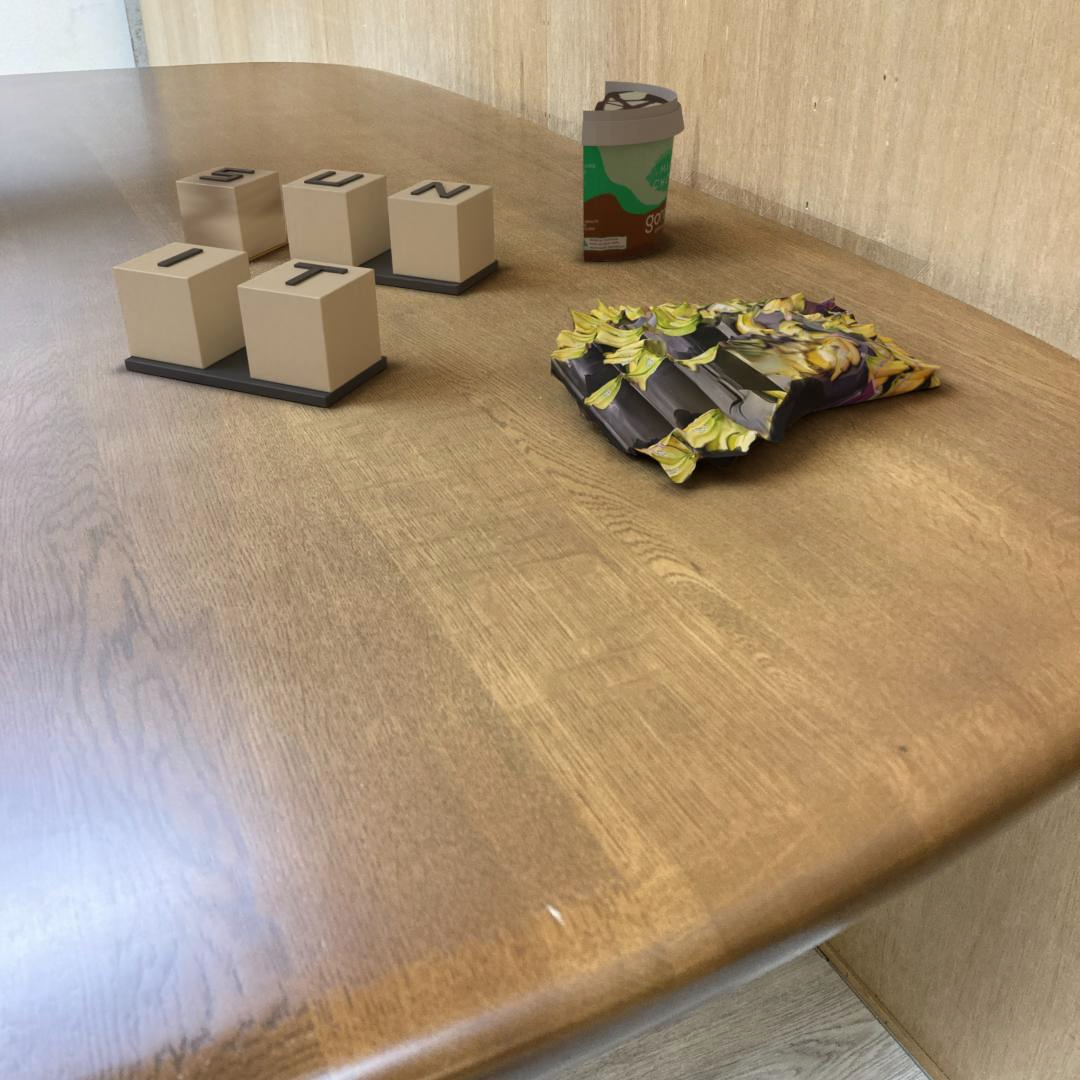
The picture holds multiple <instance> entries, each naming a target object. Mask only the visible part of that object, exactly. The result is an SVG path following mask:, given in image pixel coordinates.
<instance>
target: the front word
mask: <svg viewBox="0 0 1080 1080" xmlns="http://www.w3.org/2000/svg"><path fill="white" fill-rule="evenodd" d="M249 262H250V261H248V254H247V252H244V251H237V250H230V249H223V248H215V247H208V246H201V245H193V244H186V242H179V241H178V242H177V241H173V242H171V243H168V244H166V245H163V246H161V247H159V248H156V249H154V250H150V251H148V252H146V253H143V254H141V255H139V256H135V257H133V258H132V259H129V260H126V261H124V262H122V263H121V262H120V263H118V264H116V265H114V266H113V267H112V273H113V275H114V276H113V277H114V282H115V287H116V291H117V297H118V301H119V306H120V311H121V317H122V321H123V327H124V330H125V335H126V340H127V346H128V350H129V354H130V356H129V357H127V358H125V359H124V366H125V370H127V371H132V372H138V373H142V374H148V375H154V376H159V377H164V378H168V379H174V380H180V381H184V382H190V383H194V384H195V383H196V384H201V385H206V386H211V387H216V388H223V389H228V390H232V391H237V392H242V393H249V394H254V395H259V396H265V397H268V398H275V399H279V400H285V401H289V402H296V403H300V404H307V405H312V406H317V407H320V408H328V407H330V406H331V405H333V404H335V403H336V402H338V401H339V400H340V399H341V398H343V397H345V396H346V395H348V394H349V393H351V392H352V391H354V390H355V389H356V388H358V387H359V386H361V385H362V384H363V383H365V382H367V381H368V380H369V379H371V378H372V377H374V376H375V375H377V374H378V373H380V372H382V370H384V369H385V368H387V367H388V359H387V355H386V356H385V355H382V348H381V336H380V324H379V312H378V299H377V289H376V283H375V276H374V269H369V268H361V267H354V266H347V265H339V264H332V263H325V262H317V261H310V260H303V259H296V258H294V259H292V260H291V259H290V260H288V261H286V262H283V263H282V264H279V265H278V266H275V267H274V268H271V269H268V270H267V271H265V272H262V273H260V274H259V275H257V276H254V277H253V278H252V275H251V269H250V263H249Z"/></svg>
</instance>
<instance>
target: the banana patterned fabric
mask: <svg viewBox="0 0 1080 1080" xmlns="http://www.w3.org/2000/svg"><path fill="white" fill-rule="evenodd" d="M595 299H596V302H597V304H598V306H597V308H595V309H591V310H590V315H589V314H587V313H584V312H581V311H580V312H579V311H577V310H575V309H572V308H571V306H567V311H568V312H569V314H570V317H571V319H572V325H573V329H572V330H568V329H561V330H559V332H558V336H557V338H556V339H555V342H556V345H557V346H556V347H557V350H554V351H552V353H551V355H550V372H549V374H550V377H552V376H553V377H554V378H555V379H557V380H558V381H559V382H561V383H562V384H563V385H564V387H565V389H566V390H567V391H568V392H569V393H570V396H571V397H573V399H574V400H575V401H576V404H577V407H578V411H579V415H580V417H581V418H585V419H586V420H588V421H590V422H591V423H592V424H593V425H594V426H595V427H597V428H598V429H599V431H600V432H601V433H602V434H603V435H604V437H605V438H606V439H607V440H608V441H609V442H610V443H611V444H612V445H613V446H614V447H615V448H616V449H618V450H619V451H620V452H622V453H624V454H626V455H633V456H634V457H636V456H638V455H639V454H643V455H646V456H647V457H651V458H652V459H654V460H656V461H657V462H658V464H659V465H660V466H661V468H662V469H663V470H664V472H665V473H666V474H667V476H668V477H669V478H670V480H671V481H672V482H674V483H676V484H681V483H684V482H685V481H687V480H688V479H689V478H690V477H691V476H692V474H693V472H694V470H695V468H696V465H697V462H700V461H704V460H705V462H708V463H709V464H711V465H713V466H715V467H717V468H721V469H730V468H731V467H732V466H733V465H734V464H735V463H736V462H737V460H738V459H737V458H738V457H739V456H747V455H748V454H749V453H750V452H751V451H752V450H754V449H755V448H756V447H757V446H758V445H759V444H761V443H764V442H769V443H780V442H783V440H784V437H785V434H786V432H787V431H788V430H789V428H790V427H791V426H792V425H793V424H794V423H795V422H798V420H799V419H800V418H802V417H803V416H805V414H807V413H813V412H818V411H822V410H827V409H832V408H837V407H843V406H848V405H853V404H857V403H862V402H867V401H871V400H876V399H881V398H888V397H892V396H893V397H895V396H900V395H902V394H905V393H910V392H913V391H917V390H923V389H931V388H935V387H939V386H940V385H941V381H940V379H939V378H938V377H936V375H935V371H937V370H939V369H941V366H940V365H936V364H930V363H926V362H924V361H922V360H920V359H918V358H915V357H914V356H912V355H911V354H908V352H906V351H905V350H904V349H902V348H900V347H899V346H898V345H896V344H895V343H894V339H893V338H890V337H887V336H884V335H882V334H880V333H878V332H876V324H875V323H867V324H866V323H863V322H859V321H857V320H856V317H855V313H854V312H853V311H851V310H847V309H846V308H845V309H844V308H842V307H841V306H838V304H836V301H835V300H836V297H835V296H831V297H830V298H827V299H825V300H823V301H820V302H815V301H812V300H807V298H806V297H805V296H804V294H803V293H802V292H798V293H795V294H793V295H789V296H785V297H779V298H778V297H777V298H765V299H762V300H759V301H756V302H750V301H747V300H743V299H742V298H732V299H729V300H726V301H724V302H721V301H714V302H712V303H710V304H696V303H689V301H688V300H685V301H684V302H683V303H680V302H679V303H678V302H672V301H667V302H665V303H663V304H660V305H648V306H647V305H642V306H640V307H633V306H631V305H629V306H626V305H623V304H619V307H618V309H616V308H615V307H613V306H611V305H609V306H608V308H607V307H606V306H605V304H604V303H603V302H602V301H601V300H600V299H599V298H598V297H595Z"/></svg>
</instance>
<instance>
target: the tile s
mask: <svg viewBox="0 0 1080 1080" xmlns="http://www.w3.org/2000/svg"><path fill="white" fill-rule="evenodd" d="M175 186H176V187H175V188H176V192H177V199H178V203H179V204H178V205H179V210H180V215H181V222H182V227H183V233H184V240H185V243H186V244H193V245H201V246H208V247H215V248H223V249H230V250H237V251H244V252H247V254H248V259H249V258H252V257H254V256H256V255H258V254H260V253H262V252H265V251H267V250H269V249H271V248H273V247H276V246H278V245H280V244H282V243H284V242H286V241H287V240H288V239H287V232H286V226H285V225H286V224H285V217H284V209H283V201H282V193H281V192H282V191H281V184H280V177H279V172H278V171H277V170H267V169H260V168H259V169H258V168H249V167H240V166H230V165H218V166H215V167H213V168H209V169H206V170H204V171H203V170H202V171H200V172H197V173H195V174H191V175H188V176H186V177H183V178H179V179H177V180H175Z"/></svg>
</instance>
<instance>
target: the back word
mask: <svg viewBox="0 0 1080 1080" xmlns="http://www.w3.org/2000/svg"><path fill="white" fill-rule="evenodd" d="M493 189H494V188H493V186H492V185H486V184H485V185H483V184H474V183H464V182H455V181H444V180H435V179H424V180H421V181H419V182H417V183H415V184H413V185H410V186H409V187H407V188H404V189H402V190H399V191H397V192H395V193H393V194H391V195H388V184H387V175H385V174H377V173H368V172H358V171H349V170H348V171H347V170H338V169H330V168H329V169H327V168H323V169H320V170H317V171H315V172H313V173H310V174H307V175H305V176H302V177H300V178H297V179H295V180H292V181H290V182H287V183H284V184H282V185H281V192H282V193H281V194H282V199H283V201H282V202H283V207H284V209H283V210H284V215H285V217H284V218H285V223H286V224H285V225H286V231H287V232H286V234H287V239H286V240H287V241H286V242H284V243H282V244H280V245H278V246H276V247H273V248H271V249H269V250H267V251H265V252H262V253H260V254H258V255H256V256H254V257H252V258H249V259H248V261H249V262H251V261H253V260H256V259H258V258H260V257H262V256H264V255H266V254H269V253H271V252H273V251H276V250H277V249H279V248H282V247H284V246H286V245H288V250H289V256H290V260H292V259H294V258H296V259H303V260H310V261H317V262H325V263H332V264H339V265H347V266H354V267H361V268H369V269H374V276H375V284H378V285H384V286H393V287H399V288H405V289H406V288H407V289H412V290H413V289H414V290H419V291H420V290H421V291H427V292H434V293H441V294H448V295H455V296H457V295H460V294H461V293H463V292H464V291H466V290H467V289H469V288H471V287H472V286H474V285H475V284H477V283H478V282H480V281H481V280H483V279H485V278H486V277H487V276H489V275H490V274H492V273H494V272H495V271H497V270H498V269H499V259H496V257H495V224H494V221H495V219H494V191H493Z"/></svg>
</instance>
